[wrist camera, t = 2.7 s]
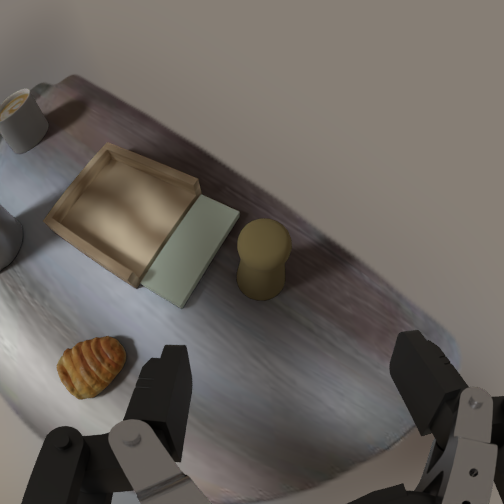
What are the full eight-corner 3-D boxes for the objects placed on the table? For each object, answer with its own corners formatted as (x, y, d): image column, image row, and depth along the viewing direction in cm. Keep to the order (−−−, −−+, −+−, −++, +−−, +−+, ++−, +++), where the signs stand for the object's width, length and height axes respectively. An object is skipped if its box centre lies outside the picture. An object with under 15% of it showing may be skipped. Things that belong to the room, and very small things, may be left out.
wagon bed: (136, 289, 37) (127, 280, 34) (54, 231, 41) (42, 221, 38) (201, 193, 43) (198, 178, 40) (113, 156, 46) (107, 142, 43)
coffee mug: (56, 125, 51) (37, 91, 42) (23, 159, 47) (0, 127, 38) (30, 114, 54) (14, 84, 44) (2, 144, 50) (-18, 116, 41)
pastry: (112, 324, 36) (100, 318, 32) (139, 370, 34) (128, 368, 30) (61, 360, 33) (46, 357, 30) (85, 405, 31) (70, 406, 28)
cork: (239, 303, 37) (236, 272, 27) (233, 257, 39) (228, 212, 29) (289, 296, 37) (304, 263, 27) (280, 251, 40) (291, 205, 30)
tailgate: (143, 285, 38) (182, 309, 36) (140, 282, 36) (180, 306, 35) (202, 199, 43) (239, 216, 42) (200, 194, 42) (239, 211, 41)
